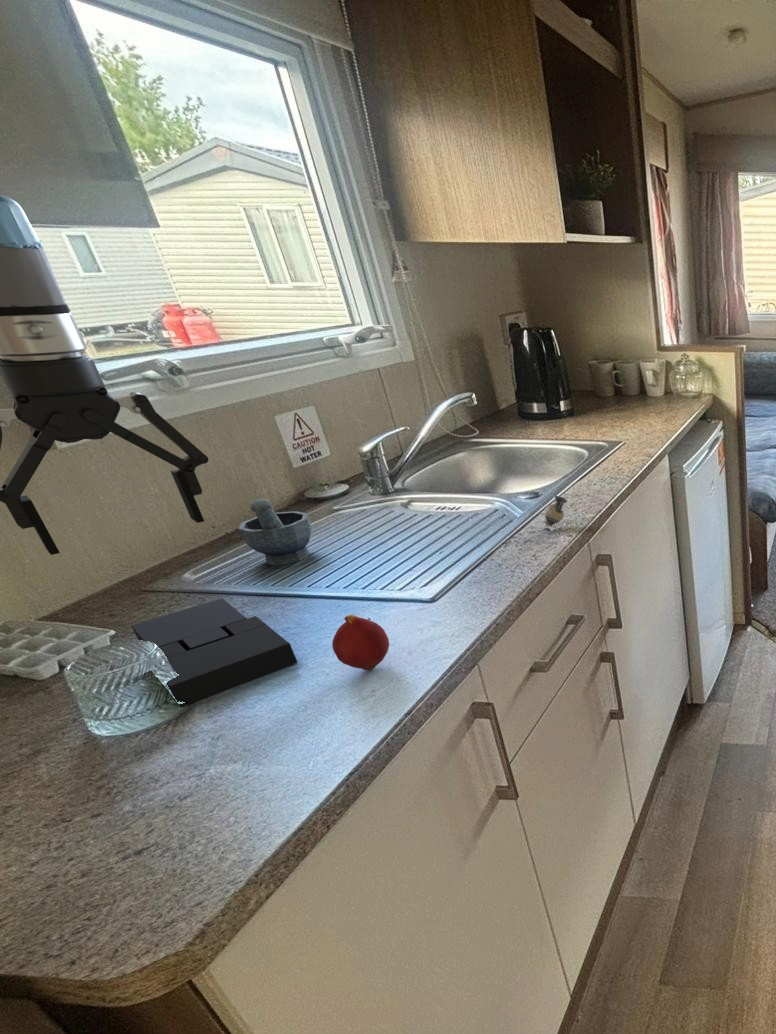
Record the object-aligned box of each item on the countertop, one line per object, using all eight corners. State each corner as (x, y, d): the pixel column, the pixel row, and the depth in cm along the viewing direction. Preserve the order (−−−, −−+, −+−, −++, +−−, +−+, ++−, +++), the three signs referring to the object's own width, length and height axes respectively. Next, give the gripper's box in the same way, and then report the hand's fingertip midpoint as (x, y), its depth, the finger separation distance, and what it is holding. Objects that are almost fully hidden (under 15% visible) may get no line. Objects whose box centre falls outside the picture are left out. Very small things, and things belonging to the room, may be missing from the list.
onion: (362, 656, 86) (343, 602, 83) (405, 657, 86) (388, 603, 83) (333, 681, 81) (311, 625, 78) (378, 682, 81) (358, 626, 78)
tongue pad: (141, 644, 89) (130, 625, 88) (230, 616, 96) (222, 597, 95) (170, 678, 82) (159, 658, 80) (264, 645, 89) (256, 626, 87)
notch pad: (152, 672, 83) (141, 652, 81) (263, 634, 91) (255, 615, 90) (180, 707, 76) (169, 686, 75) (297, 662, 85) (289, 643, 84)
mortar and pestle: (259, 553, 116) (232, 488, 111) (321, 543, 121) (299, 480, 115) (250, 577, 108) (220, 507, 102) (318, 565, 112) (293, 498, 106)
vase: (565, 520, 132) (560, 491, 129) (577, 527, 128) (572, 498, 126) (539, 526, 129) (533, 497, 126) (550, 534, 125) (545, 504, 122)
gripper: (-139, 371, 62) (-14, 575, 71) (195, 349, 79) (258, 514, 89) (-143, 363, 65) (-24, 558, 75) (176, 344, 83) (239, 503, 93)
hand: (129, 534), depth 82 cm, fingers open, 13 cm apart
